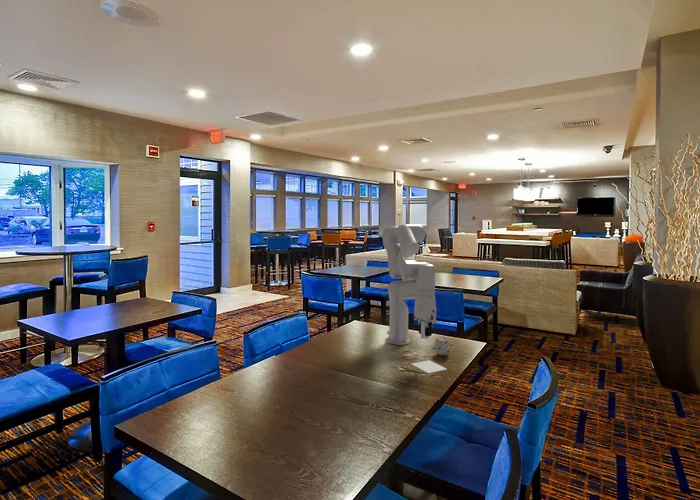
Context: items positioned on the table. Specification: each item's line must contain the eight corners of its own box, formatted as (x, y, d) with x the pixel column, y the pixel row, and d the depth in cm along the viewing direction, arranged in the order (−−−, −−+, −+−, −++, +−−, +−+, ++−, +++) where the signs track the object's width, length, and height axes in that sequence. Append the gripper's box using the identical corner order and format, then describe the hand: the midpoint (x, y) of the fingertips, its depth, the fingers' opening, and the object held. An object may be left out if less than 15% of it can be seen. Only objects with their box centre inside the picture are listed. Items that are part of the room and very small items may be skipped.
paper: (410, 364, 180) (410, 363, 180) (429, 360, 185) (429, 360, 185) (428, 373, 170) (428, 373, 170) (447, 369, 174) (447, 368, 174)
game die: (445, 364, 191) (455, 351, 185) (428, 357, 191) (438, 344, 185) (446, 349, 199) (455, 336, 193) (429, 343, 198) (438, 330, 193)
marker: (419, 337, 179) (419, 316, 179) (425, 336, 181) (426, 315, 181) (424, 339, 176) (424, 318, 176) (431, 338, 178) (431, 317, 177)
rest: (399, 356, 191) (399, 355, 191) (410, 354, 194) (411, 353, 194) (407, 360, 185) (407, 359, 185) (419, 358, 188) (419, 357, 188)
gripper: (407, 290, 183) (406, 331, 184) (431, 296, 168) (430, 340, 170) (421, 289, 186) (420, 329, 188) (445, 295, 172) (444, 338, 173)
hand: (425, 334), depth 179 cm, fingers closed on marker, 3 cm apart
